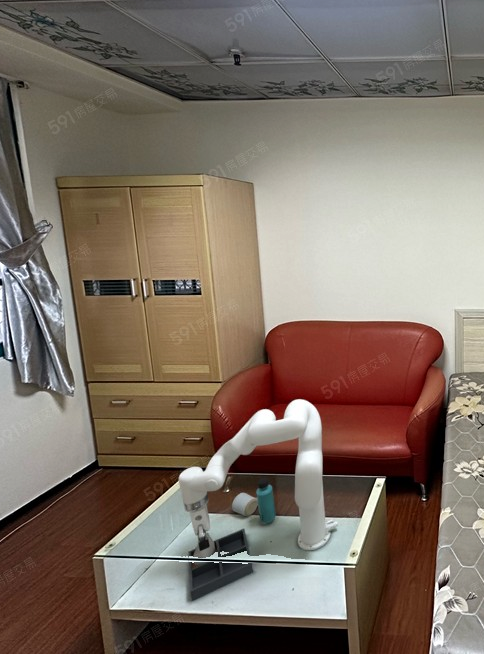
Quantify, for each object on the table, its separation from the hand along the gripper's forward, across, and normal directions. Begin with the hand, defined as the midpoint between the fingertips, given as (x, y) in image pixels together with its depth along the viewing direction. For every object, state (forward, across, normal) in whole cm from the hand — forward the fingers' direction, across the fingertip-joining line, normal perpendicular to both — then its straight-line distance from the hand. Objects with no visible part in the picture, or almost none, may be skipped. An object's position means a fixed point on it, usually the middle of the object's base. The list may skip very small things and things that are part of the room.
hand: (204, 539), depth 153 cm
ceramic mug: (+11, +21, -17) cm, 29 cm away
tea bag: (+10, 0, +1) cm, 10 cm away
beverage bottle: (+11, +9, -23) cm, 27 cm away
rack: (+11, -4, -4) cm, 12 cm away
